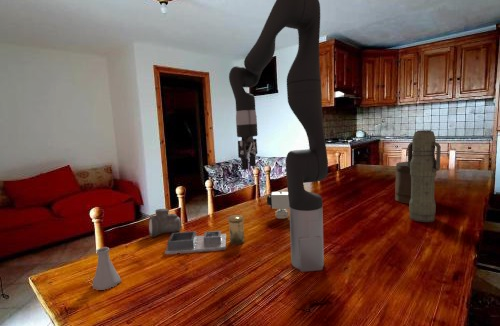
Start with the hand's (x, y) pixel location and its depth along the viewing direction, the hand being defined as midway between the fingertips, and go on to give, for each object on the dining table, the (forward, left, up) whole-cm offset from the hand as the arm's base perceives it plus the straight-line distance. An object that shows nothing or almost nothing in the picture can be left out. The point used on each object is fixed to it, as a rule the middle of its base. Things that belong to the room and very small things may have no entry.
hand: (249, 167), depth 107 cm
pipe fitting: (+7, +34, -25) cm, 43 cm away
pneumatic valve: (+16, -14, -25) cm, 33 cm away
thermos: (+2, -68, -25) cm, 72 cm away
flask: (-29, +42, -25) cm, 57 cm away
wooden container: (+27, -80, -25) cm, 88 cm away
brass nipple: (-7, +6, -25) cm, 27 cm away
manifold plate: (-7, +20, -25) cm, 33 cm away
